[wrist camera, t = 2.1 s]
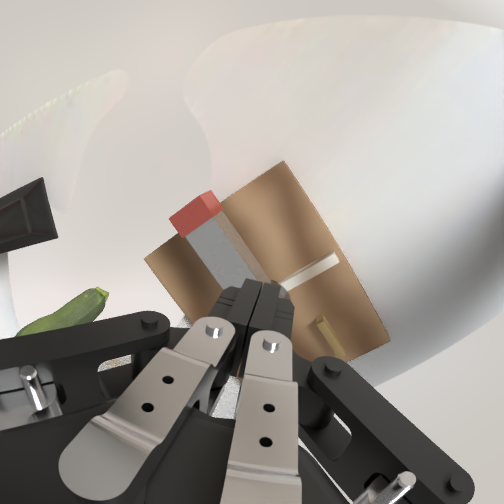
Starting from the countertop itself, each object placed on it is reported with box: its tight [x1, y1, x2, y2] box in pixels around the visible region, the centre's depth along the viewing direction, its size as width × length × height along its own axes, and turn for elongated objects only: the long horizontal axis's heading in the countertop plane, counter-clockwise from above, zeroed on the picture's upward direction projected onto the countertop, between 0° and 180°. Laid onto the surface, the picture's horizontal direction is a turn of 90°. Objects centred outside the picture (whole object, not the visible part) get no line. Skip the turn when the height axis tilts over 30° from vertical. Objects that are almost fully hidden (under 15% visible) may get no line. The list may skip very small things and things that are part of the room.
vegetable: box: [15, 287, 109, 337], centre depth 29 cm, size 4×4×20 cm
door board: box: [144, 161, 390, 381], centre depth 32 cm, size 18×22×3 cm
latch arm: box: [169, 190, 291, 300], centre depth 27 cm, size 14×4×3 cm, turn 34°
